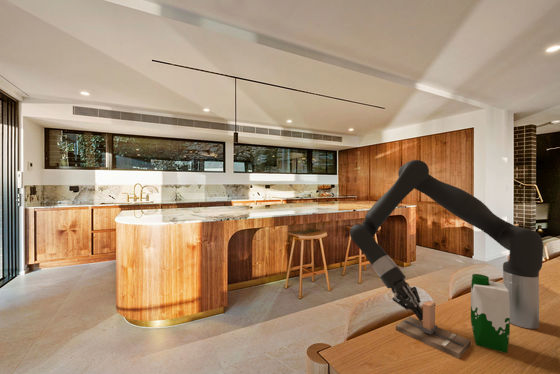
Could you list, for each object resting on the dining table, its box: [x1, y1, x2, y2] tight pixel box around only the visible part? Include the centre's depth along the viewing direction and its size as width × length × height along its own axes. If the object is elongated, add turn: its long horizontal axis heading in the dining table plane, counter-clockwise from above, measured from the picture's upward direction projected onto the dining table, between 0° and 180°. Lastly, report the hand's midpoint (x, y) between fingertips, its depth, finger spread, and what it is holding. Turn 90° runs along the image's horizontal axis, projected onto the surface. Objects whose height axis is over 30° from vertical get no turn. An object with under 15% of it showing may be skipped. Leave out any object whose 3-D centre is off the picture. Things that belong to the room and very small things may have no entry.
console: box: [395, 316, 472, 359], centre depth 81 cm, size 18×10×2 cm, turn 37°
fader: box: [420, 300, 439, 335], centre depth 81 cm, size 3×5×8 cm, turn 127°
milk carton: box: [470, 273, 511, 354], centre depth 78 cm, size 9×9×20 cm
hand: (423, 319), depth 82 cm, fingers closed
